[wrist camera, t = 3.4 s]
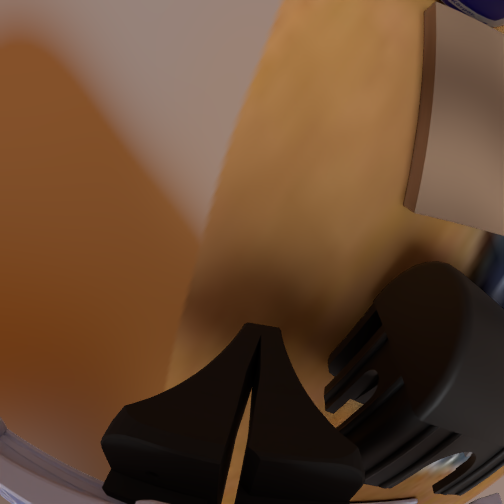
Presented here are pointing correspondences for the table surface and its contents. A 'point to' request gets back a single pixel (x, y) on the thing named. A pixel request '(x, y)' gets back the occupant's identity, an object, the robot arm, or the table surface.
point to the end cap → (424, 379)
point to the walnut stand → (460, 123)
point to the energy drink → (480, 10)
